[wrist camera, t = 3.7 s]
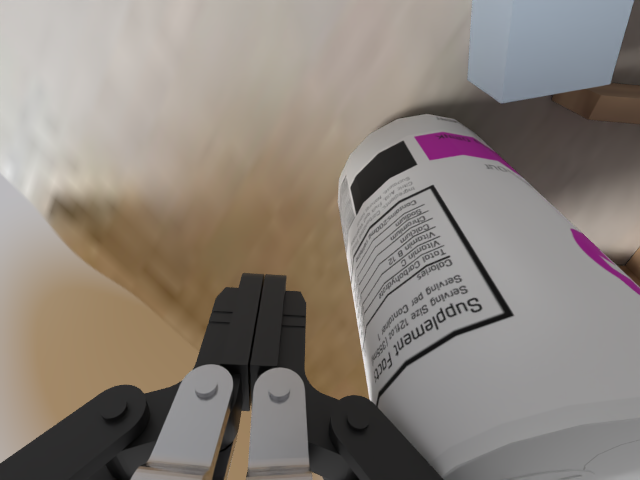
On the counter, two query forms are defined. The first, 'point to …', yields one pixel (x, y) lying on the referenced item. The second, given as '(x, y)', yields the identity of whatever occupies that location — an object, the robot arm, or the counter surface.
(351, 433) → the robot arm
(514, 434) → the supplement can
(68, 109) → the counter surface
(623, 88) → the frame
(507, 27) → the slate-blue block
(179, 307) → the counter surface
